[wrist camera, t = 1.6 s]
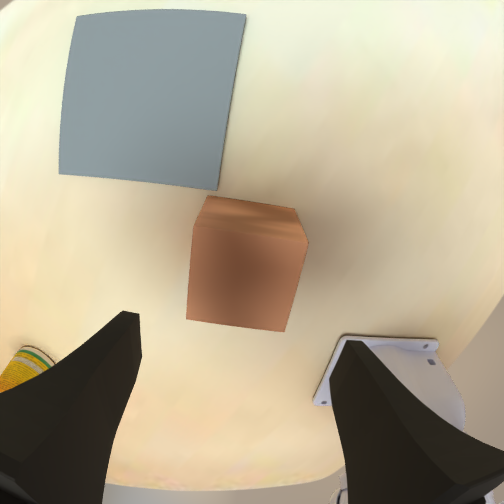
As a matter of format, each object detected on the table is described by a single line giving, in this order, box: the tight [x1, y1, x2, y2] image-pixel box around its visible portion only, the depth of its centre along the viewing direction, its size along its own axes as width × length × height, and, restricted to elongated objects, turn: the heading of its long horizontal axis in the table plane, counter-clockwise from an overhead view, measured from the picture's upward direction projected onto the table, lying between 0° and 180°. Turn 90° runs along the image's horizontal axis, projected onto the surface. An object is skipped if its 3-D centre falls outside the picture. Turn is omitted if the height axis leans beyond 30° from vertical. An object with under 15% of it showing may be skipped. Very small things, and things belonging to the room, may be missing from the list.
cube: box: [186, 195, 309, 332], centre depth 17 cm, size 5×5×5 cm
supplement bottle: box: [0, 347, 55, 393], centre depth 20 cm, size 5×5×10 cm
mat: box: [59, 9, 246, 191], centre depth 15 cm, size 10×10×1 cm
